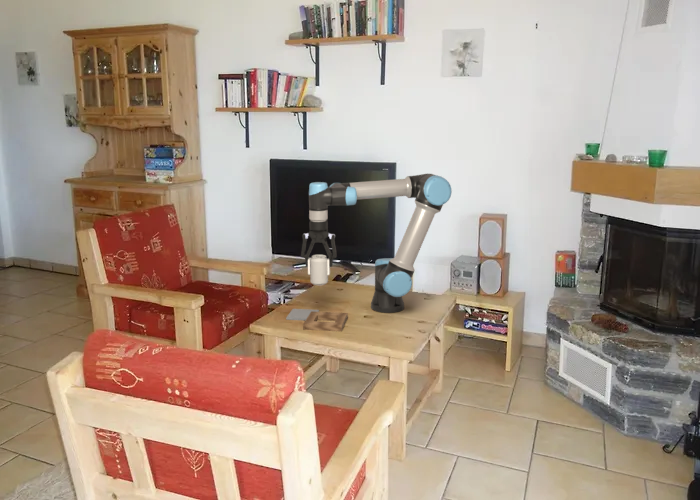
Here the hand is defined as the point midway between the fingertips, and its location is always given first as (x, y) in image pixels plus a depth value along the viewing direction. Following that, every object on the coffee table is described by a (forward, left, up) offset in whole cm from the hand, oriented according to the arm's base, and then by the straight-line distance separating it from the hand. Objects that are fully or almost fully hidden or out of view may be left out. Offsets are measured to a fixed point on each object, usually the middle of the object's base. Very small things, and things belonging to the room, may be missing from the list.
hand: (319, 273), depth 248 cm
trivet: (+9, -7, -21) cm, 24 cm away
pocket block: (-3, +2, -21) cm, 22 cm away
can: (0, 0, -4) cm, 4 cm away
